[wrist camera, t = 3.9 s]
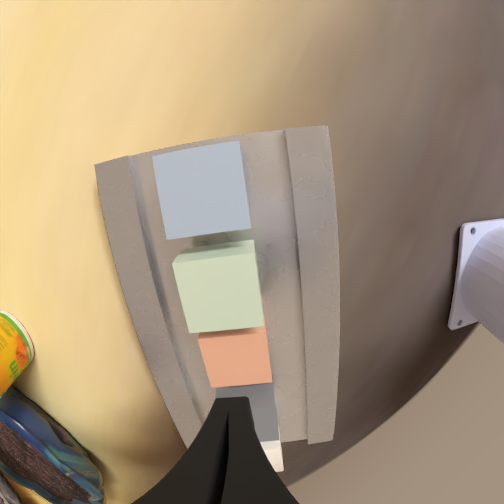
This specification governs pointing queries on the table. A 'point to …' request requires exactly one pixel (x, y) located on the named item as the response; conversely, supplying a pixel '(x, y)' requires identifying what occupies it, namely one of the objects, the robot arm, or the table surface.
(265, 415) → the key
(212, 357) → the key
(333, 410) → the base
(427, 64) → the table surface
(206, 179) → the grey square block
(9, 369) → the supplement bottle
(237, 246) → the pale green square block
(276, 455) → the key
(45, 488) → the bonsai tree
